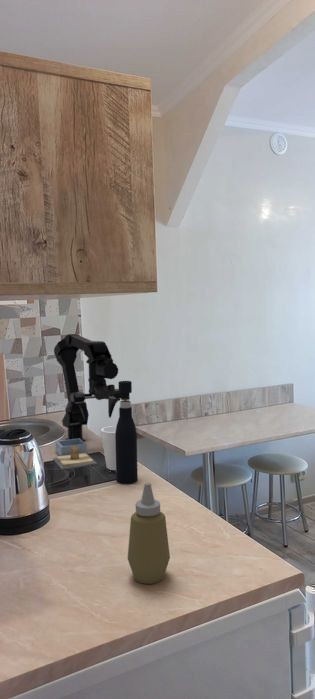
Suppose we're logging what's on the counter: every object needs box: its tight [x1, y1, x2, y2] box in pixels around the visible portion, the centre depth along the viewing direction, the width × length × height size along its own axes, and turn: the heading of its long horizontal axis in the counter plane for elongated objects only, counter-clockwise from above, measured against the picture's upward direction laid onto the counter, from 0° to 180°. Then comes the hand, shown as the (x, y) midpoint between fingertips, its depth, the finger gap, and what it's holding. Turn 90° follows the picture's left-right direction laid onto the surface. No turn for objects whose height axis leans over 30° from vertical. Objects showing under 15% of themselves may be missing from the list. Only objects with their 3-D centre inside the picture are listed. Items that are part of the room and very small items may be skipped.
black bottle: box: [115, 380, 139, 485], centre depth 143 cm, size 6×6×30 cm
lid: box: [56, 446, 94, 467], centre depth 162 cm, size 10×10×5 cm
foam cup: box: [100, 425, 117, 470], centre depth 155 cm, size 10×9×13 cm
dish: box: [55, 438, 88, 456], centre depth 173 cm, size 9×9×4 cm
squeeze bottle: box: [127, 482, 171, 585], centre depth 91 cm, size 8×8×18 cm
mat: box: [53, 453, 98, 471], centre depth 162 cm, size 12×12×1 cm
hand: (97, 418), depth 175 cm, fingers open, 9 cm apart
